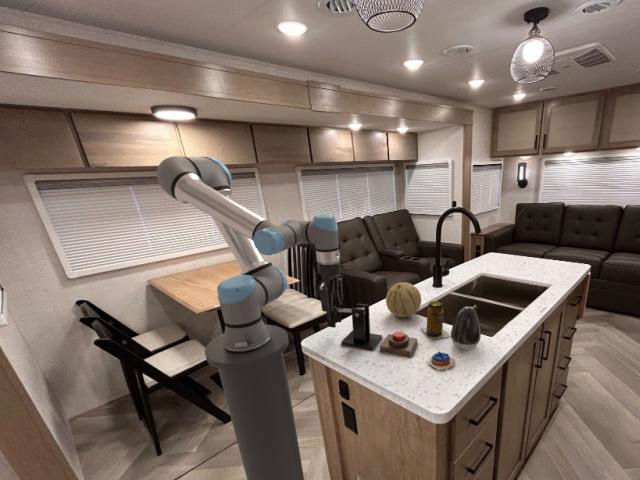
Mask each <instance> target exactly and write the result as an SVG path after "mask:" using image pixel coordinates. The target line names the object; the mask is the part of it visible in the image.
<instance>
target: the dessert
mask: <svg viewBox="0 0 640 480" xmlns="http://www.w3.org/2000/svg"><path fill="white" fill-rule="evenodd" d="M428 362H429V365H430V366H431V367H433V368H434V369H436V370H438V371H443V370H446V369H450V368H451V367H453V366H454V360H453V359H452V358H451V357H450V355H449V353H446V352H441V351H440V350H438V352H435V353H434V354H433V355H432V356H430V357H429V359H428Z"/></svg>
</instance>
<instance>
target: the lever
mask: <svg viewBox="0 0 640 480" xmlns="http://www.w3.org/2000/svg"><path fill="white" fill-rule="evenodd" d="M356 308H357V309H364V311H365V307H357V306H356ZM333 310H334V312H335V314H336V313H337V312H341V313H350V314H352V308H344V307H343V308H342V307H340V308H337V306H336V305H335V304H334V303H333ZM365 314H366V311H365Z"/></svg>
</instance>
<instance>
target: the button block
mask: <svg viewBox="0 0 640 480" xmlns="http://www.w3.org/2000/svg"><path fill="white" fill-rule="evenodd" d="M404 334H405V339H404V340H403V341H395V340H394V339H393V333H392V334H390V333H388V334H387V335H386V337H385V338H384V339H383V341H382V342H381V343H380V345H379V352H381V353H385V354H391V355H392V354H393V355H396V356H397V355H398V356H405V357H411V356H412V355H413V353H414V351H415V349H416V347H417V345H418V338H417V337H410V336H409V335H408V334H406V333H404Z"/></svg>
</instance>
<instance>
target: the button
mask: <svg viewBox="0 0 640 480" xmlns="http://www.w3.org/2000/svg"><path fill="white" fill-rule="evenodd" d="M392 334H393V339H394V340H395V341H403V340H404V339H405V334H406V333H405V332H403V331H402V330H401V331H399V330H397V331H394V332H393V333H392Z"/></svg>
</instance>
